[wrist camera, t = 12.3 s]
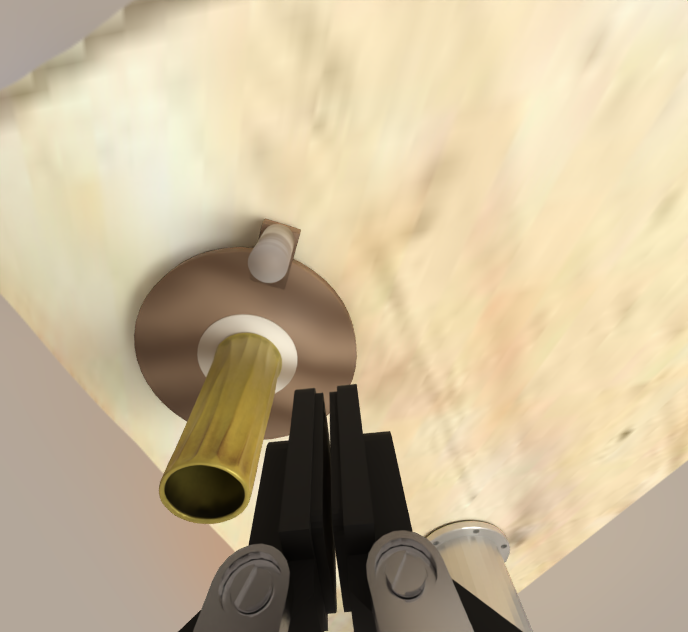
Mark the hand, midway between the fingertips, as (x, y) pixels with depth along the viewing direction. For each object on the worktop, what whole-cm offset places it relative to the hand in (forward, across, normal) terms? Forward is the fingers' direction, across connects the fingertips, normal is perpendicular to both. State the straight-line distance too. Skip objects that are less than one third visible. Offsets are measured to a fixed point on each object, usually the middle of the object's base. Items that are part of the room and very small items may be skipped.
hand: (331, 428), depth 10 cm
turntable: (+23, +8, +10) cm, 26 cm away
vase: (+22, +8, +11) cm, 26 cm away
